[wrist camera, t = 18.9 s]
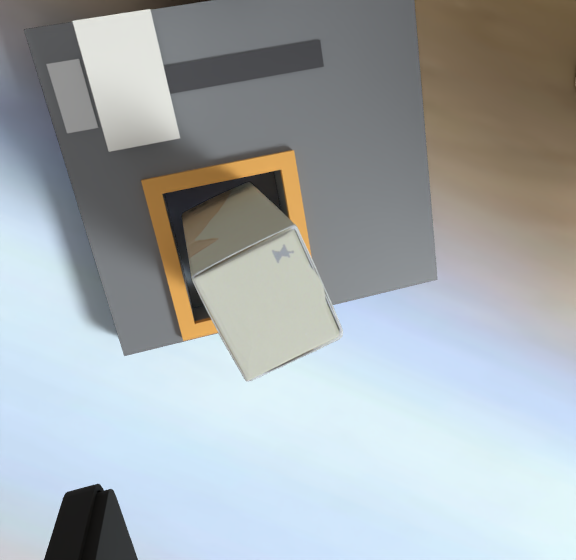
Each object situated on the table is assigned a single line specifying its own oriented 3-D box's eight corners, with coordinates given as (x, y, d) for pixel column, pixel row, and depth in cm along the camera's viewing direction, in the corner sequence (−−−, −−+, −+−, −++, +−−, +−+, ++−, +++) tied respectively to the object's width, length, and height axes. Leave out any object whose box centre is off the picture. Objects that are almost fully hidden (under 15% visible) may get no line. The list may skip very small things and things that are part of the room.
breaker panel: (395, -21, 27) (415, -33, 25) (422, 269, 33) (440, 281, 30) (34, 35, 25) (21, 27, 23) (127, 340, 30) (123, 359, 28)
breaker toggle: (152, 21, 24) (150, 8, 21) (179, 135, 25) (180, 138, 22) (84, 32, 23) (72, 20, 20) (115, 147, 25) (108, 151, 22)
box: (179, 212, 29) (183, 269, 18) (251, 178, 29) (296, 215, 18) (221, 294, 30) (247, 388, 20) (288, 262, 31) (348, 338, 20)
